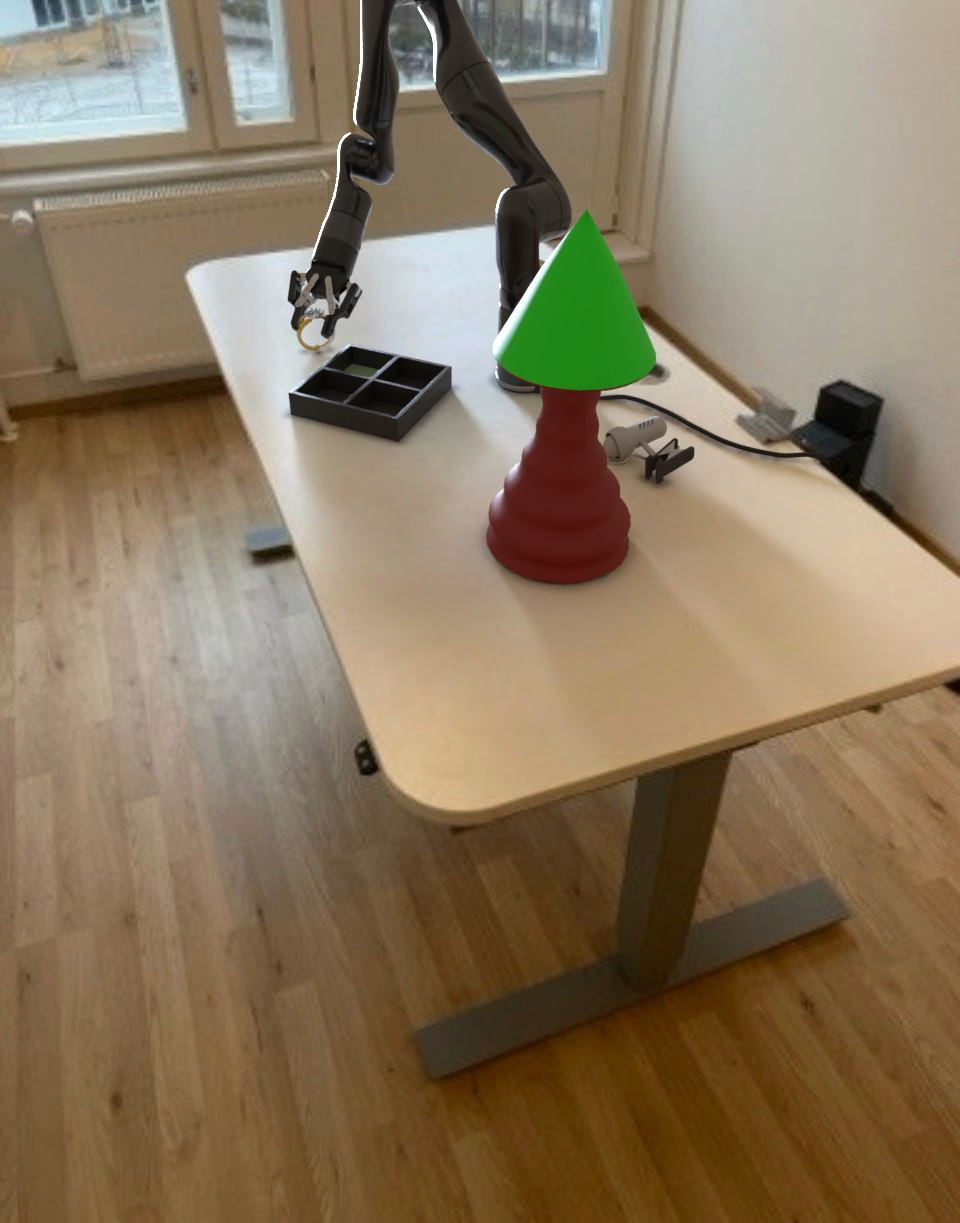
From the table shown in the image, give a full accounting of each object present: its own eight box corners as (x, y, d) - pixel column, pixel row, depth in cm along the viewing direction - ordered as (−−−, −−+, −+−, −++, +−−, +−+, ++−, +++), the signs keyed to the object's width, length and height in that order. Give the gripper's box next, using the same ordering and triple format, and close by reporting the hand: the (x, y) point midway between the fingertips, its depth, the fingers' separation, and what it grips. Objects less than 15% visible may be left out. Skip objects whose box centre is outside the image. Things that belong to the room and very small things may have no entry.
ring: (335, 345, 179) (331, 304, 174) (338, 353, 177) (334, 311, 171) (297, 349, 177) (292, 307, 172) (299, 357, 175) (295, 315, 170)
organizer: (451, 388, 168) (451, 366, 165) (398, 442, 154) (397, 419, 151) (350, 364, 173) (349, 343, 171) (290, 414, 159) (288, 392, 157)
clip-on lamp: (594, 515, 145) (698, 469, 147) (592, 484, 140) (699, 437, 143) (558, 469, 152) (657, 426, 155) (554, 438, 147) (657, 395, 150)
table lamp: (541, 605, 124) (570, 255, 95) (458, 528, 136) (461, 197, 107) (658, 555, 133) (717, 220, 103) (570, 487, 145) (600, 170, 115)
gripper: (295, 227, 172) (265, 317, 172) (366, 241, 168) (336, 333, 167) (313, 248, 179) (285, 334, 179) (381, 261, 175) (353, 349, 175)
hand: (310, 333), depth 173 cm, fingers closed on ring, 5 cm apart
